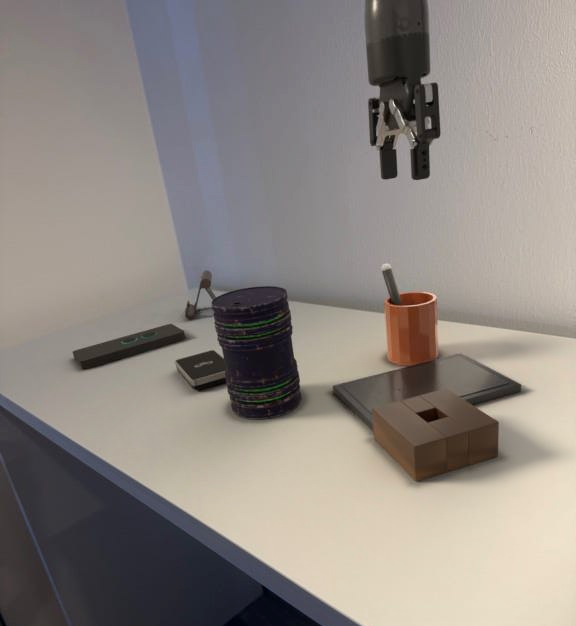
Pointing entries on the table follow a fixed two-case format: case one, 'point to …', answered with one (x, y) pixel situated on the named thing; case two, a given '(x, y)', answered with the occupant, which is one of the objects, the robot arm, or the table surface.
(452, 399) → the pen stand
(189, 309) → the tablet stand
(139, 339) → the smart home device
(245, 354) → the storage jar
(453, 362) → the tablet
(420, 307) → the pen cup
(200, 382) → the external hard drive
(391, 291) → the stylus
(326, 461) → the table surface
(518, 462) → the table surface
